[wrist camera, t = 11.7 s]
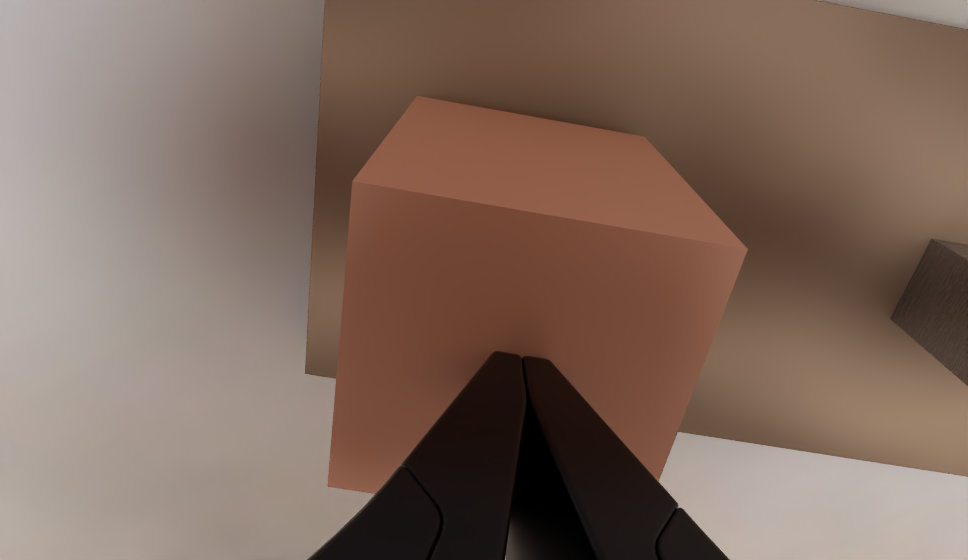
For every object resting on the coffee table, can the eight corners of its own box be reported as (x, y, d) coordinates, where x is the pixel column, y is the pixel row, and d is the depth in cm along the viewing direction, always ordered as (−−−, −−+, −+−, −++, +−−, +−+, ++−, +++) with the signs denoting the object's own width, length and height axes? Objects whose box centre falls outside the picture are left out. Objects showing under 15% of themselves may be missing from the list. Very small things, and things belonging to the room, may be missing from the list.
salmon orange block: (589, 332, 16) (638, 532, 10) (392, 299, 16) (327, 487, 10) (644, 136, 14) (747, 249, 8) (417, 95, 14) (352, 180, 8)
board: (984, 456, 20) (1011, 483, 19) (315, 351, 19) (305, 373, 18) (1233, 83, 15) (1289, 91, 14) (342, -87, 14) (329, -93, 13)
